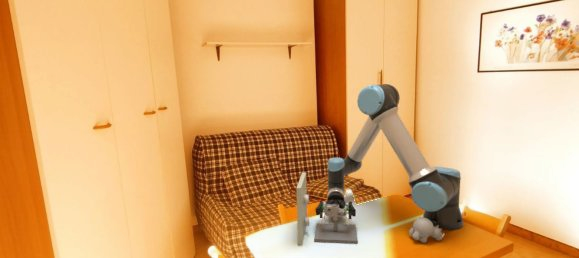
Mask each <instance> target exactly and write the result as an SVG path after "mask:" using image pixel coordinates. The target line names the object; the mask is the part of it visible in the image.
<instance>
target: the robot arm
mask: <svg viewBox="0 0 579 258" xmlns="http://www.w3.org/2000/svg"><path fill="white" fill-rule="evenodd" d="M399 103H400V94H399V91H398V89H397V88H396V87H395V86H393V85H392V84H387V83H384V84H370V85H367V86H365V87H363V88H362V89H361V90H360V91H359V93H358V95H357V103H356V104H357V107H358V109H359V111H360V112H361V113H362V114H364V115H367V116H368V117H367V119H366V121H365V123H364V125H363V126H362V128H361V130H360V131H359V133H358V134H357V137H356V139H355V140H354V142H353V144H352V145H351V147H350V149H349V150H348V153H347V154H346V156H345V158H342V157H331V158H329V159H328V161H327V199H326V201H323V200H319V203H318V205H317V206H316V208H315V215H316V216H319V219H322V220H321V221H322V222H321V223H322V224H324V223H325V222H326V221H325V220H326V215H325V213H324V210H322V206H324V204H336V205H339V208H340V209H344V208H345V206H347V207H349V211H347V213H346V216H345V218H346V224H348V225H349V224H350V221H349V220H352V217H356V215H357V214H356V213H357V210H356V208H355V207H354V205H353V202H352V201H349V202H346V201H345V177H346V176H348V175H350V174H353V173H356V172H357V171H359V170H360V169H362V166H363V164H362V163H363V160H364V158H365V156H366V155H367V153H368V152H369V150H370V149H371V146H372V145H373V143H374V141H375V140H376V138H377V136H378V135H379V133H380V131H382V132H383V135H384V136H385V138H386V140H387V142H388V143H389V145H390V146H391V148H392V150H393V152H394V153H395V155H396V157H397V159H398V160H399V162H400V163H401V165H402V167H403V169H404V171H406V173H407V176H408V181H407V182H408V185H409V187H410V188H411V193H410V194H411V199H412V202H413V203H414V204H415V205H416V206H417V207H418V208H419V209H420V210H422V211H423V214H422V215H423V216H422V217H423V218H427V219H429V220H430V221H431V222H432V223H433V226H437V225H439V226H438V228H439V229H442V230H447V231H449V230H450V231H451V230H458V229H461V228H462V227H464V218H463V215H462V212H461V208H460V193H461V192H460V191H461V190H460V189H461V179H462V177H461V172H460V171H459V170H458V169H456V168H450V167H443V166H430V164H429V162H428V161H427V159H426V158H425V156H424V154H423V153H422V151H421V149H420V148H419V146H418V145H417V143H416V141H415V140H414V138H413V136H412V135H411V134H410V132H409V130H408V128H407V127H406V125H405V123H404V122H403V120H402V119H401V116H400V115H399V113H398V112H399V106H398V105H399ZM328 210H329V211H330V210H331V209H328ZM342 213H345V212H342Z"/></svg>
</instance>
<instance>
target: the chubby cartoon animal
mask: <svg viewBox="0 0 579 258" xmlns="http://www.w3.org/2000/svg"><path fill="white" fill-rule="evenodd" d="M438 226H439V225H437V226H433V223H432V222H431V221H430V220H429V219H427V218H423V216H421V217H418V218H416V219H415V220H414V222H413V224H412V227H411V228H410V229H409V230H408V234H409V235H411V237H412V239H414V240H415V241H419V242H421V243H423V244H426V243H427V242H428V238H429V237H432V238H434V240H436V241H439V242H440V241H441V240H443V238H444V236H445V233H442V230H443V229H439V228H438Z"/></svg>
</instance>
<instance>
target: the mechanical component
mask: <svg viewBox="0 0 579 258" xmlns="http://www.w3.org/2000/svg"><path fill="white" fill-rule="evenodd" d="M328 209H331V210H330V211H329V210H328ZM322 210H324V213H325V217H332V218H331V219H332V220H333V221H332V222H333V224H334V231H337V229H338V226H337V224H338V220H340V217H343V218H344V217H345V218H346V213H347V211H349V207H347V206H345V208H344V209H340V208H339V205H336V204H324V206H322ZM343 212H345V213H343Z"/></svg>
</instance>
